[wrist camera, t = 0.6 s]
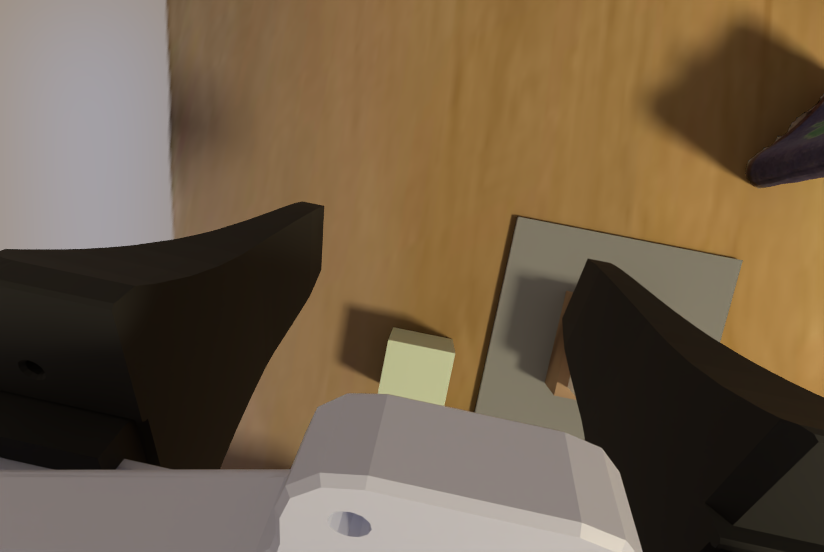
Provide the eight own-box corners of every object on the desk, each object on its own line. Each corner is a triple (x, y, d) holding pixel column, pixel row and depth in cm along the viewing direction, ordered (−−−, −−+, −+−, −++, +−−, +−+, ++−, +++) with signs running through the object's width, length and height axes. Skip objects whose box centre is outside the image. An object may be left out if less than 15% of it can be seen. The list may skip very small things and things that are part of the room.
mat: (681, 468, 33) (684, 471, 33) (471, 425, 33) (471, 428, 33) (738, 260, 31) (742, 260, 31) (517, 216, 32) (518, 216, 31)
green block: (440, 395, 34) (441, 417, 30) (382, 383, 34) (375, 404, 30) (452, 338, 33) (455, 353, 29) (393, 326, 33) (388, 339, 29)
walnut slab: (638, 402, 32) (656, 416, 30) (544, 383, 33) (554, 395, 30) (662, 309, 32) (682, 316, 29) (566, 290, 32) (577, 295, 29)
